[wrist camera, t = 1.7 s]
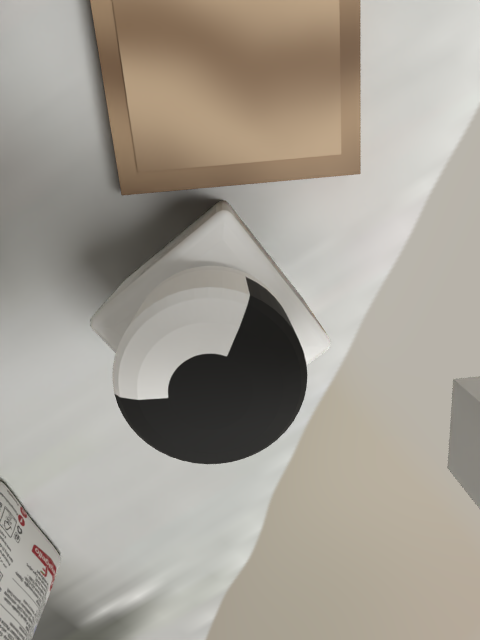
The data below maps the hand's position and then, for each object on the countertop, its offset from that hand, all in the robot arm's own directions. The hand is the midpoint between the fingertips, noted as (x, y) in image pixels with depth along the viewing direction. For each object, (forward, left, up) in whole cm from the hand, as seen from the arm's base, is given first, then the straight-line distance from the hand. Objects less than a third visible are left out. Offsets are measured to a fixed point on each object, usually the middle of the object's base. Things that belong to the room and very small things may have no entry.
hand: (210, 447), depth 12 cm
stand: (-12, +2, -16) cm, 20 cm away
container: (0, 0, -16) cm, 16 cm away
